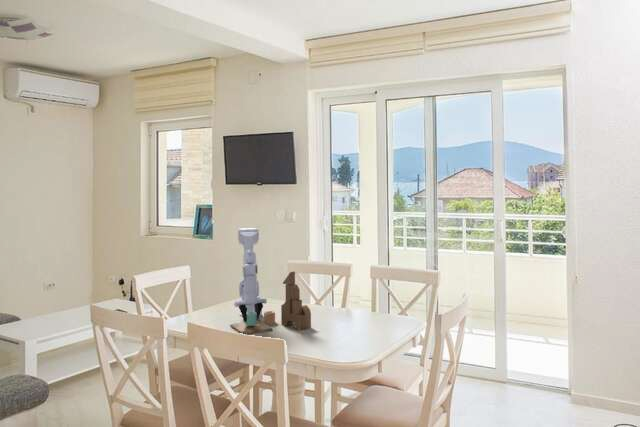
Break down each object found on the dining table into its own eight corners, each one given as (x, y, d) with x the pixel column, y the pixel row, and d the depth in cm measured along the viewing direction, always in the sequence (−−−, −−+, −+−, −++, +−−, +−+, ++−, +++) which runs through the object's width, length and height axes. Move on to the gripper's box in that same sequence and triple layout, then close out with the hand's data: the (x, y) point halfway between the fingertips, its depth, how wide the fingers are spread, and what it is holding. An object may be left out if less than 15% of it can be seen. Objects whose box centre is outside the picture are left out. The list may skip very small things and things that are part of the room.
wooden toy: (312, 327, 221) (311, 272, 221) (300, 330, 217) (299, 273, 216) (290, 321, 233) (289, 268, 232) (279, 324, 228) (278, 270, 228)
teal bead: (254, 322, 224) (254, 311, 224) (258, 324, 220) (258, 313, 220) (243, 323, 222) (243, 312, 222) (247, 326, 218) (247, 314, 218)
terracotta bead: (270, 320, 234) (269, 310, 234) (277, 322, 231) (277, 312, 231) (262, 323, 231) (261, 312, 230) (269, 324, 227) (269, 313, 227)
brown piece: (259, 322, 232) (259, 308, 231) (272, 330, 217) (272, 315, 217) (230, 326, 225) (230, 312, 225) (242, 334, 211) (241, 319, 211)
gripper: (237, 293, 214) (238, 324, 214) (269, 290, 221) (269, 320, 221) (232, 291, 220) (233, 321, 220) (263, 288, 227) (263, 317, 227)
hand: (250, 320), depth 221 cm, fingers closed on teal bead, 5 cm apart
